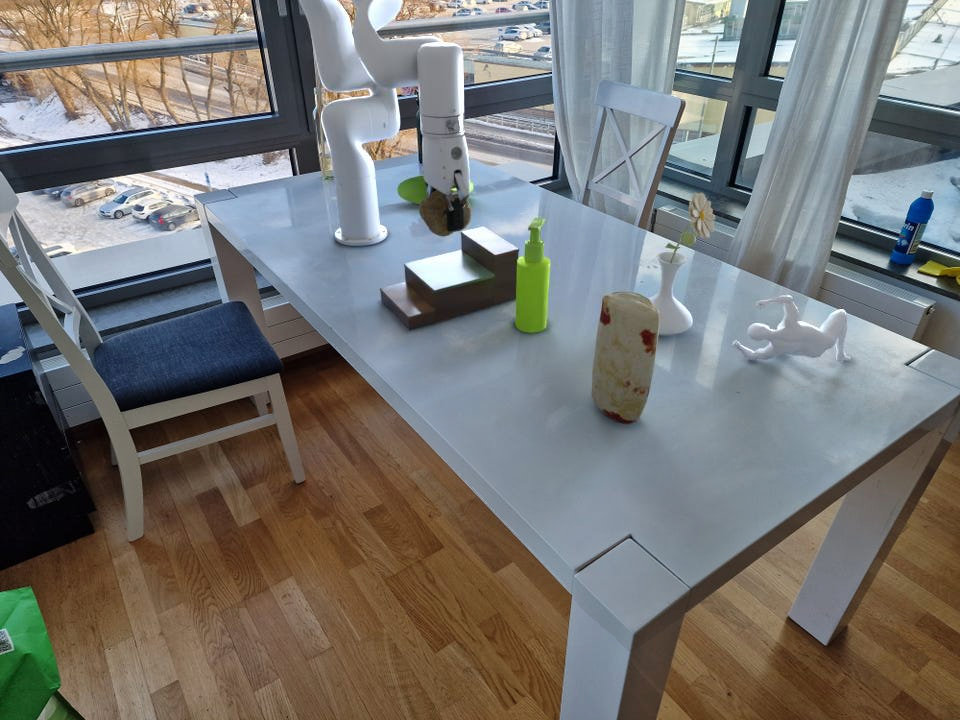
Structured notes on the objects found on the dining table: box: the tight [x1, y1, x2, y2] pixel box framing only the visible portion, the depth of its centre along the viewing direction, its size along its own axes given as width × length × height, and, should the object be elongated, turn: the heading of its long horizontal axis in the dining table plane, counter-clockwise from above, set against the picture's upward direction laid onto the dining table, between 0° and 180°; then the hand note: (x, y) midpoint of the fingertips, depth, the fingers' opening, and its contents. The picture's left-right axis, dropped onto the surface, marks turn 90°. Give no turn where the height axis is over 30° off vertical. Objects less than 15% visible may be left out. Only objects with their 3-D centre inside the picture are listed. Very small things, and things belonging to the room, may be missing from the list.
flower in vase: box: [647, 192, 716, 336], centre depth 112 cm, size 13×11×25 cm
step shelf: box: [379, 225, 520, 331], centre depth 124 cm, size 13×24×11 cm, turn 121°
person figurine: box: [731, 295, 852, 362], centre depth 106 cm, size 13×13×18 cm
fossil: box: [418, 190, 472, 238], centre depth 118 cm, size 9×4×10 cm
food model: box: [590, 291, 660, 425], centre depth 91 cm, size 10×7×20 cm
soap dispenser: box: [514, 217, 551, 334], centre depth 114 cm, size 6×7×20 cm
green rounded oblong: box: [396, 175, 474, 205], centre depth 173 cm, size 8×12×20 cm
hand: (446, 222), depth 118 cm, fingers closed on fossil, 6 cm apart
